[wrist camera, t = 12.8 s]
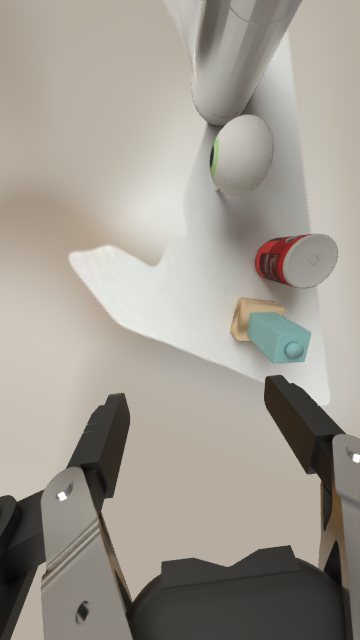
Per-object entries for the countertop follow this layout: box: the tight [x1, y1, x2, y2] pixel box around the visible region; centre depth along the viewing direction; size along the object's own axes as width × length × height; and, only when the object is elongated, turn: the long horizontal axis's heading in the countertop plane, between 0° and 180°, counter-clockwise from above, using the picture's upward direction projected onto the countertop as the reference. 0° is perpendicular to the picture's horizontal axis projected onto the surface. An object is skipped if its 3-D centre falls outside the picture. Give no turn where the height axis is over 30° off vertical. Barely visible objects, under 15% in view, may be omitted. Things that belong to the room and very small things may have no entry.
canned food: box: [255, 234, 338, 288], centre depth 32 cm, size 8×8×11 cm
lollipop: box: [210, 115, 274, 195], centre depth 26 cm, size 7×7×15 cm
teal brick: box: [247, 312, 311, 363], centre depth 32 cm, size 5×5×11 cm
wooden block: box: [230, 297, 286, 342], centre depth 40 cm, size 8×8×5 cm
